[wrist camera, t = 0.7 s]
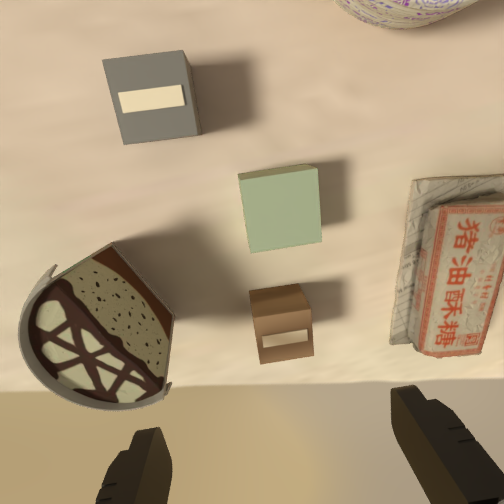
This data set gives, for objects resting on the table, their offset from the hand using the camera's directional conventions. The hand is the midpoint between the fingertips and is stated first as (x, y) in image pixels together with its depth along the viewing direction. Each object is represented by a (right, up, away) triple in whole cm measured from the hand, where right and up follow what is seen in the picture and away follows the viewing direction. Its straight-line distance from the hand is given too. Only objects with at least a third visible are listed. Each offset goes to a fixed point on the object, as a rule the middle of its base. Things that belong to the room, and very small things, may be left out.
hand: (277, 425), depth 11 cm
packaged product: (+19, +5, +22) cm, 29 cm away
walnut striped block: (+2, 0, +22) cm, 22 cm away
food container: (-14, +2, +20) cm, 24 cm away
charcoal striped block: (-8, +18, +14) cm, 24 cm away
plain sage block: (+1, +10, +18) cm, 21 cm away
